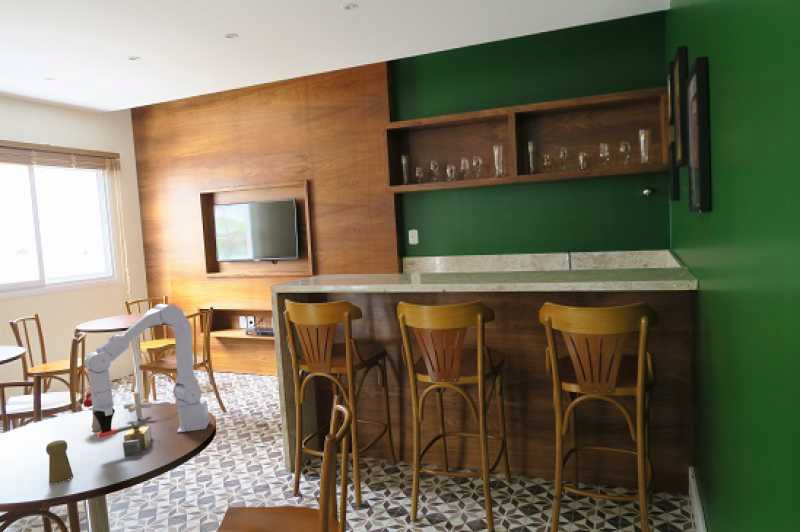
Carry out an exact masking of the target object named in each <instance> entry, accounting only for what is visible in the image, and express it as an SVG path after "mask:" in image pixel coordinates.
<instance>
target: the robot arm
mask: <svg viewBox="0 0 800 532" xmlns="http://www.w3.org/2000/svg"><path fill="white" fill-rule="evenodd" d="M163 324H164V325H166V326H168V327H169V328H170V329H172V330H174V342H175V343H174V344H175V357H176V358H175V359H176V370H177V372H176V373H177V376H176V377H175V381H174V383H175V384H174V388H173V390H172V391H173V396H174V397H175V398H176V399H177V403H176V404H177V413H178V418H179V421H178V422H179V427H178V429H177V431H176V433H177V434H178V433H186V431H187V432H194V431H199V430H200V431H201V430H206V429H207V428H208V425H209V424H210V417H209V407H208V402H207V400H201V397H202V389H201V388H200V385H199V381H198V379H197V377H196V375H195V372H194V371H195V368H194V355H193V340H192V338H193V337H192V327H191V326H192V325H191V322H190V321H189V319H188V317H187V316H186V315H185V314H184V312H183V308H180V307H178V306H176V304H175V305H174V304H166V303H161V302H160V303H158V304H157V303H156V305H154V306H153V307H152V308H150V309H148V311H146V312H145V314H143V315H142V316H141V317H140V318H138V319H137V321H136V322H134V323H133V324H132V325H131V326H130V327H129V328H127V329H126V330H125V331H124V332H123V333H122V334H115V335H114V336H113V335H110V336H109V337H108V338H107V339H108V341H106V342H105V343H104V344H102V345H101V346H100V347H99V346H98V347H97V348H95V351H94V352H93V351H92V352H90V353H88V355H87V356H86V357H85V359H84V362H83V365H84V367H85V368H86V369H87V371H88V372H87V373H88V382H89V383H88V384H89V390H90V391H91V398H92V406H91V407H87V408H88V410H89V411H92V410H98V411H96V412H94V413H93V412H92V415H93V414H94V415H95V417H96V418H97V420H98V422H99V425H100V428H101V432H102V431H106V430H109V429H112V421H113V418H114V414H115V412H116V410H115V409H114V406H115V402H114V400H113V392H112V384H111V378H110V373H109V368H110V367H111V363H112V362H114V361H115V360H116V359H117V358H119V357H120V356H121V355H122V354H123V353H124V352H126V351H127V350H128V349H129V347H130V343H131V341H132V340H134V339H135V338H137V337H138V336H139V335H141V334H143V332H145V331H146V330H147V329H149V328H151V327H154V326H159V325H163Z"/></svg>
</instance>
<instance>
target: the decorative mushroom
mask: <svg viewBox="0 0 800 532" xmlns="http://www.w3.org/2000/svg"><path fill="white" fill-rule="evenodd" d="M83 406H84V407H86V408H88V407H91V406H92V398H91V391H90V389H89V390H88V391H87V393H86V395H85V398H84V399H83ZM91 411H92V422H91V423H92V424H91V429H92V431H93V432H101V431H102V430H101V428H100V425H99V422H98V420H97V418H96V417H95V415H94V414H93V413H94V412H96V411H98V410H91ZM100 430H101V431H100Z"/></svg>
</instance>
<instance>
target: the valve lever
mask: <svg viewBox="0 0 800 532" xmlns="http://www.w3.org/2000/svg"><path fill="white" fill-rule="evenodd" d="M141 426H142V425H141V422H140V421H136V422H135V421H134V422H133V423H130V424H128V425H125V426H121V427H118V428H117V427H116V428H115V427H114V428H111V429H109V430H106V431H102V430H101V431H97V432H96V434H97V438H98V439H99V440H100V439H103V438H107V437H110V436H113V435H114V436H115V435H117V434H119V433H122V432H126V431H129V430H130V429H136V428H139V427H141Z"/></svg>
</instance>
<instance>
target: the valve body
mask: <svg viewBox="0 0 800 532" xmlns="http://www.w3.org/2000/svg"><path fill="white" fill-rule="evenodd" d="M151 428H152V427H151V425H150V424H148V425H141V427H139V428H136V429H130V430H127V432H126V433H125V434H124V435H123V440H124V441H123V442H122V448H123V449H122V450H123V455H124V457H130V456H132V457H133V456H137V455H140V454H141V451H143V450H146V449H147V448H148V447H149V446H150V444H151V443H152V437H153V436H152V429H151ZM150 442H151V443H150ZM142 449H143V450H142Z"/></svg>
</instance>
